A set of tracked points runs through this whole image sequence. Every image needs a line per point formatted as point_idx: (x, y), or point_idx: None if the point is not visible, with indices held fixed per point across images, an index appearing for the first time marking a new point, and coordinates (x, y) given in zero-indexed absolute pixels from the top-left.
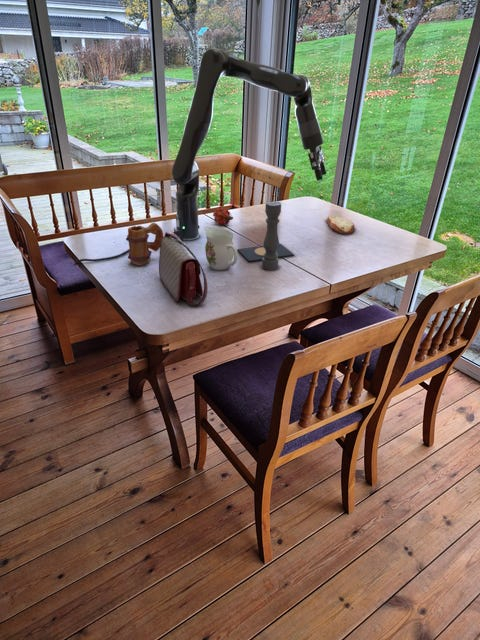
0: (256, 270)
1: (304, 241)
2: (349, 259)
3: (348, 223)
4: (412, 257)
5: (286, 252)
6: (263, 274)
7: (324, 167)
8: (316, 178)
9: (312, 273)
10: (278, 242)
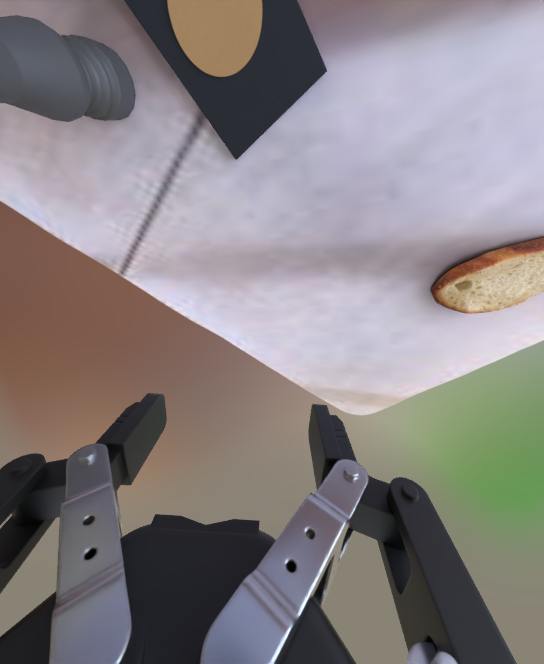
0: None
1: (373, 175)
2: (265, 303)
3: (497, 299)
4: (307, 386)
5: (242, 125)
6: None
7: (315, 473)
8: (143, 400)
9: (148, 233)
10: (51, 118)
